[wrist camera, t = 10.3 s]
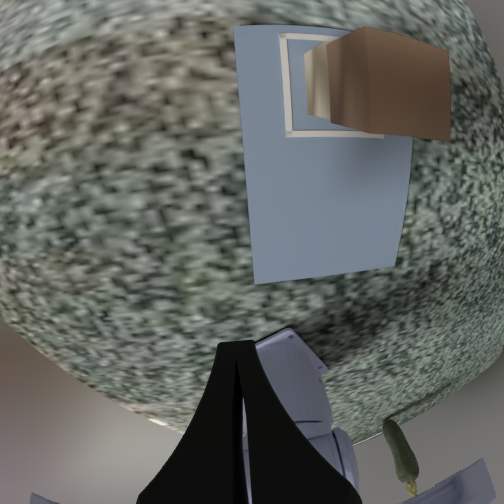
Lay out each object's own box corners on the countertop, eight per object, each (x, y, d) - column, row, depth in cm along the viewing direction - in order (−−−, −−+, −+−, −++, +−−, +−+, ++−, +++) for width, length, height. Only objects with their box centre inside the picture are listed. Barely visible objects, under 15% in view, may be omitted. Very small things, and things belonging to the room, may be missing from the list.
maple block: (366, 117, 15) (399, 124, 12) (307, 114, 15) (330, 118, 11) (363, 59, 13) (397, 53, 9) (303, 53, 13) (325, 41, 9)
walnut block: (399, 127, 12) (449, 142, 8) (330, 123, 12) (369, 133, 8) (397, 56, 10) (447, 51, 6) (326, 44, 9) (364, 26, 6)
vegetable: (380, 417, 41) (407, 501, 24) (399, 409, 41) (430, 490, 24) (377, 424, 44) (402, 502, 26) (396, 416, 43) (423, 492, 26)
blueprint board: (391, 262, 22) (394, 266, 21) (254, 279, 21) (255, 284, 21) (405, 45, 13) (411, 44, 12) (233, 28, 12) (233, 25, 12)
